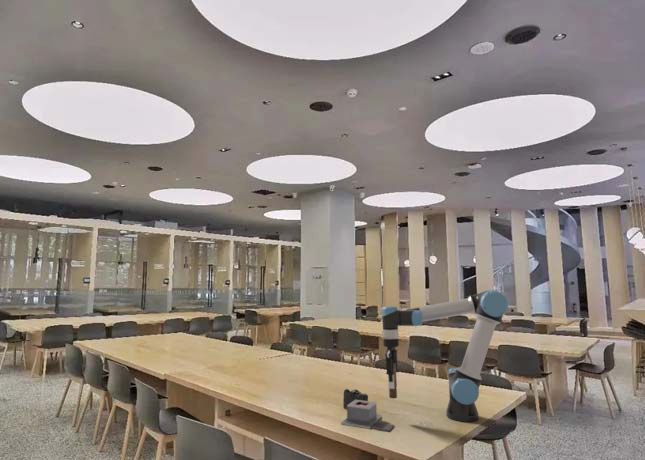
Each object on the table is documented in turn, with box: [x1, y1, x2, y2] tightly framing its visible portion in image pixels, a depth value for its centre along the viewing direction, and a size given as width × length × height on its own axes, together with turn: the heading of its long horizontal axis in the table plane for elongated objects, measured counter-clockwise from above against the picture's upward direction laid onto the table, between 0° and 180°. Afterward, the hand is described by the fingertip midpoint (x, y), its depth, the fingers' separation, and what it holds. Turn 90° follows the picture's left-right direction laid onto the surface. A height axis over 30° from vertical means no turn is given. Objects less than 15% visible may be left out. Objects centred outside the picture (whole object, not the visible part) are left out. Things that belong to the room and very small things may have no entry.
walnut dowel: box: [388, 363, 398, 399], centre depth 197 cm, size 4×4×16 cm
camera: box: [342, 388, 369, 410], centre depth 213 cm, size 14×11×10 cm
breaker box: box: [341, 400, 382, 429], centre depth 194 cm, size 14×18×8 cm
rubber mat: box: [371, 421, 395, 433], centre depth 184 cm, size 8×8×1 cm
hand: (392, 387), depth 196 cm, fingers closed on walnut dowel, 3 cm apart
